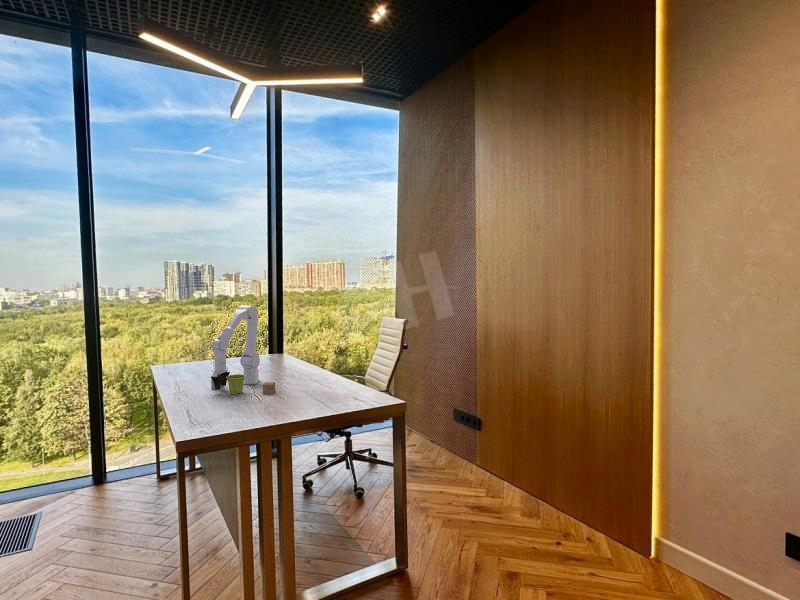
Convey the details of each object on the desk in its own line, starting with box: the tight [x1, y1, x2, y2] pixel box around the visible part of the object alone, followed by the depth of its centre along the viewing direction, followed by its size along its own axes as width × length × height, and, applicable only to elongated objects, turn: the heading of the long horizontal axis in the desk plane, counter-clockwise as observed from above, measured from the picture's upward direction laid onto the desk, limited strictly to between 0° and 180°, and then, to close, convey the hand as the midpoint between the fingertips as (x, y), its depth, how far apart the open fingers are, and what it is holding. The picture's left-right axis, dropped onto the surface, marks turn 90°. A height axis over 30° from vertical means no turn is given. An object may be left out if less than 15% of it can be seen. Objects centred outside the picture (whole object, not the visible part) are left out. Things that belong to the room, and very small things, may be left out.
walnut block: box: [262, 381, 276, 394], centre depth 235 cm, size 5×5×5 cm
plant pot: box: [226, 373, 245, 395], centre depth 235 cm, size 9×9×9 cm
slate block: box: [210, 379, 225, 390], centre depth 246 cm, size 5×5×5 cm
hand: (220, 387), depth 239 cm, fingers open, 7 cm apart
